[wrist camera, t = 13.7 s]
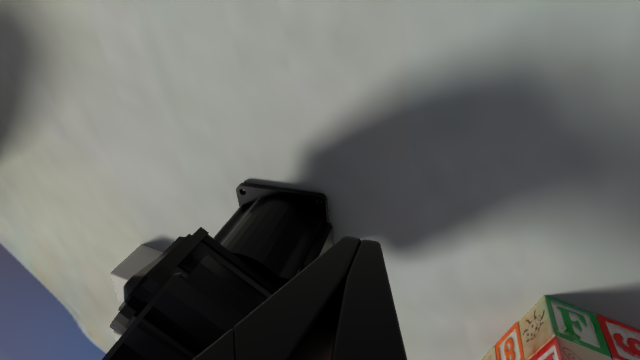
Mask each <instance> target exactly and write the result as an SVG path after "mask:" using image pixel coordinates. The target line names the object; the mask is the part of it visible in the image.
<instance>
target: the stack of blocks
mask: <svg viewBox="0 0 640 360" xmlns="http://www.w3.org/2000/svg"><path fill="white" fill-rule="evenodd" d="M481 360H640V330H638V329H635V328H632V327H630V326H627V325H624V324H622V323H619V322H616V321H613V320H611V319H608V318H605V317H603V316H600V315H597V314H593V313H590V312H588V311H585V310H582V309H580V308H577V307H575V306H572V305H569V304H567V303H564V302H561V301H559V300H556V299H553V298H551V297H548V296H545V295H544V296H543V297H542V298H541V299H540V300H539V301H538V302H537V303H536V304H535V305H534V306H533V307H532V308H531V309H530V310H529V311H528V312H527V313H526V314H525V316H524V317H523V318H522V319H521V320H520V321H519V322H516V323H515V324H514V325H513V326H512V327H511V329H510V330H509V331H508V332H507V333H506V334H505V335H504V336H503V337H502V338H501V339H500V340H499V341H498V342H497V343H496V345H495V346H494V347H493V348H492V349H491V350H490V351H489V352H488V353H487V354H486V355H485V356H484V357H483V358H482V359H481Z"/></svg>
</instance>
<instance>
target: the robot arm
mask: <svg viewBox="0 0 640 360" xmlns="http://www.w3.org/2000/svg"><path fill="white" fill-rule="evenodd" d="M243 189H244V190H245V191H246V192H244V191H243ZM236 192H237V197H238V202H239V206H240V208H239V209H238V210H237V211H236V212H235V214H234V215H233V216H232V217H231V218H230V219H229V221H228V222H227V223H226V224H225V225H224V226H223V228H222V229H221V230H220V231H219V232H218V233H217V235H216V236H215V237H214V238H212V237H211V236H209V235H208V232H207V231H206V230H204V229H203V228H202V227H200V228H199V229H198V230H197V231H196V232H195V233H194V234H193V235H190V234H189V235H187V236H186V237H178V238H177V240H176V241H175V242H174V243H173V244H172V245H171V246H170V247H169V248H168V249H167V250H166V251H165V252H164V253H163V254H161V255H160V256H159V257H158V258H157V259H155V260H154V261H153V262H151V263H150V264H148V265H147V266H146V267H144V268H143V269H142V270H140V271H139V272H137V273H136V274H135V275H133V276H132V277H131V278H130V279H129V280H128V281H127V282H126V284H125V285H124V302H123V303H122V304H121V306H120V307H119V311H120V312H119V313H118V314H117V316H116V317H115V318H114V320H113V321H112V323H111V325H110V327H111V328H112V329H113V330H115V331H116V332H118V333H119V334H122V336H121V337H120V338H119V340H118V341H117V342H116V343H115V344H114V346H113V347H112V348H111V349H110V350H109V352H108V353H107V354H106V355H105V357H104V358H103V359H102V360H407V357H406V352H405V348H404V344H403V340H402V335H401V331H400V327H399V322H398V318H397V314H396V310H395V305H394V301H393V297H392V292H391V288H390V284H389V280H388V275H387V271H386V267H385V262H384V258H383V254H382V250H381V245H380V243H379V242H377V241H372V240H366V239H364V240H362V241H361V240H360V239H359V238H354V237H348V236H344V237H342V238H341V239H340V240H339V241H337V242H336V243H335V244H334V241H333V226H332V225H331V223H329V219H328V200H327V197H326V196H325V195H324V194H322V193H316V192H309V191H301V190H294V189H286V188H279V187H271V186H264V185H256V184H249V183H241V184H240V185H239V186H238V187H237V188H236ZM317 199H318V200H320V201H321V203H320V202H318V201H317Z"/></svg>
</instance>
